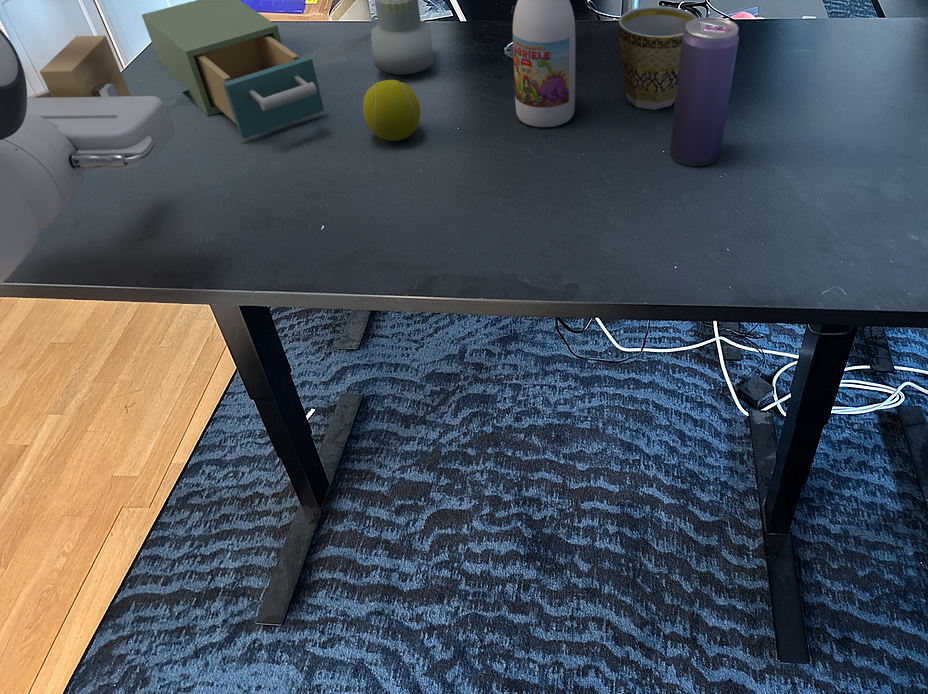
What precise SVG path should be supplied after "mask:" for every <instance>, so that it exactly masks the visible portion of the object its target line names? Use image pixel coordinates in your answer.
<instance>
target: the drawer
mask: <svg viewBox="0 0 928 694" xmlns="http://www.w3.org/2000/svg"><path fill="white" fill-rule="evenodd" d="M194 59H195V62H196V64H197V67H198V70H199V73H200V76H201V79H202V82H203V85H204V88H205V91H206V93H207V96H208V99H209V100H210V101H211V102H212V103H213V104H214V105H216V106H217V107H218V108H219V109H220V110H221V111H222V112H221V113H223V114H224V115H225V116H227V118H229V119H230V120H231V121H232V122H233V123H235V125H236V128H237V131H238V134H239V136H240V137H241V138H242V139H246V138H250V137H252V136H255V135H259V134H261V133H264V132H267V131H270V130H272V129H275V128H277V127H281V126H284V125H287V124H290V123H292V122H296V121H299V120H300V119H304V118H307V117H311V116H313V115H315V114H319V113H321V112H325V107H324V104H323V99H322V96H321V90H320V85H319V82H318V77H317V74H316V70H315V65H314V61H313V58H311V57H310V56H308V55H307V56H304V57H301V58H300V56H299V55H298V54H297V53H295V52H294V51H293V50H290V49H289V48H288V47H286V46H285V45H284V44H283V43H282V44H281V43H279V42H278V41H276V40H275V39H273V38H272V37H270V36H269V35H268V34H267V35H264V36H261V37H257V38H254V39H250V40H247V41H243V42H240V43H237V44H233V45H230V46H226V47H223V48H219V49H216V50H213V51H209V52H206V53H202V54H199V55H196V56H194Z"/></svg>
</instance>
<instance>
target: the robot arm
mask: <svg viewBox="0 0 928 694" xmlns="http://www.w3.org/2000/svg"><path fill="white" fill-rule="evenodd" d="M20 58H21V57H20V55H19V54H18V51H17V50H16V48H15V46H14V45H13V43H12V42H11V40H10V39H9V38H8V36H7V35H6V34H5V32H4V31H3V30H2V29H1V28H0V286H1V285H2V284H3V283H4V282H5V281H6V280H7V279H8V278H9V277H10V276H11V275H12V274H13V273H14V271H16V270H17V269H18V267H19V266H20V265H21V264H22V263H23V262H24V260H25V259H26V258H27V257H28V256H29V254H30V253H31V252H32V250H33V249H34V247H35V246H36V244H37V242H38V238H39V233H40V231H42V230H45V229H46V228H48V227H49V226H50V225H51V224H52V223H54V222H55V221H56V219H57V218H58V217H59V216H60V215H61V214H62V212H63V211H64V209H65V208H66V207H67V205H68V204H69V203H70V201H71V200H72V199H73V197H74V196H75V195H76V194H77V192H78V191H79V190H80V189H81V186H82V184H83V182H84V181H83V180H84V171H125V170H126V171H127V170H132V169H133V170H134V169H137V168H139V167H142V166H144V165H146V164H148V163H149V162H150V161H152V160H153V159H154V158H155V157H156V156H157V155H158V154H159V153H160V152H161V151H162V150H163V149H164V148H165V147H166V146H167V145H168V143H170V141H171V140H172V138H173V137H174V136H175V127H174V124H173V120H172V118H171V115H170V113H169V110H168V108H167V106H166V104H165V103H164V101H162V99H161V98H159V97H158V96H155V95H131V96H119V95H118V93H117V91H116V88H115V86H114V85H113V84H97V85H96V87H94V88H93V89H92V90H91V91H92V94H93V96H94V97H52V96H51V94H50V92H49V90H48V88H47V89H46V90H43V91H41V92H38V93H35V94H32V95H30V96H28V88H27V80H26V79H27V78H26V73H25V70H24V68H23V64H22V61H21V59H20Z"/></svg>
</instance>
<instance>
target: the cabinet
mask: <svg viewBox="0 0 928 694" xmlns="http://www.w3.org/2000/svg"><path fill="white" fill-rule="evenodd" d="M141 17H142V21H143V22H144V26H145V28H146V30H147V33H148V36H149V38H150V41H151V43H152V47H153V49H154V53H155V55H156V57H157V59H158V62H159V65H161V66H162V67H163V69H165V70H166V71H168V72H169V73H170V74H171V75H172V76H173V77H174V78H175V79H176V80H177V81H179V82H180V84H181V85H183V86H184V87H185V88H186V89H187V90H184V91H182V94H183V95H185V97H187V98H188V99H189V100H190V101H191V102H192V103H193V104H195V106H196V107H197V108H199V109H200V110H201V112H203V113H204V114H205V115H207V116H208V117H211V116H213V115H216V114H220V113H223V112H222V111H221V110H220V109H219V108H218V107H217V106H216V105H214V104H213V103H212V102H211V101H210V100H209V99H208V96H207V93H206V91H205V88H204V85H203V82H202V79H201V76H200V73H199V70H198V67H197V64H196V62H195V59H194V56H196V55H199V54H202V53H206V52H209V51H213V50H216V49H219V48H223V47H226V46H230V45H233V44H237V43H240V42H243V41H247V40H250V39H254V38H257V37H261V36H264V35H267V34H268V35H269V36H270V37H272V38H273V39H275V40H276V41H278V42H279V43H281V44H282V45H283V42H282V38H281V34H280V30H279V26H278V24H276V23H275V22H273V21H271V20H270V19H269V18H267V17H266V16H264V15H263V14H261V13H259V12H258V11H256V10H255V9H254V8H252V7H250V6H249V5H248V4H246V3H244V2H243V1H242V0H193V1H188V2H185V3H180V4H177V5H173V6H169V7H165V8H162V9H157V10H154V11H150V12H146V13H142V14H141Z"/></svg>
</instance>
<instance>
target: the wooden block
mask: <svg viewBox="0 0 928 694" xmlns="http://www.w3.org/2000/svg"><path fill="white" fill-rule="evenodd" d="M39 74H40V75H41V78H42V80H43V82H44V84H45V85H46V88H47V89H48V90H49V92H50V94H51V96H52V97H94V96H93V94H92V91H91V90H92V89H93V88H94V87H96V85H97V84H113V85H114V86H115V88H116V91H117V93H118V95H119V96H132V95H131V93H130V91H129V88H128V86H127V83H126V80H125V79H124V76H123V74H122V71H121V69H120V66H119V64H118V62H117V59H116V57H115V54H114V52H113V50H112V47H111V45H110V42H109V40H108V38H107V35H76V36H74V38H73V39H72V40H70V41H69V42H68V43H67V44H66V45H65V46H64V48H62V49H61V50H60V51H59V52H58V53H57V54H56V55H54V57H52V58H51V60H50V61H48V62H47V63H46V64H45V65H44V66H43V67H41V68H40V70H39Z"/></svg>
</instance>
